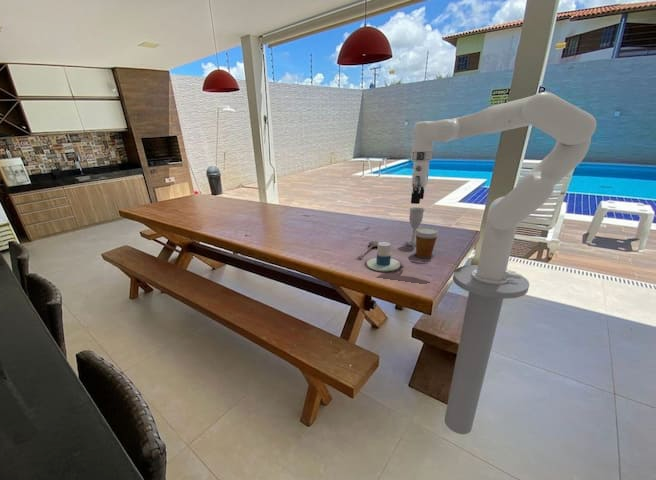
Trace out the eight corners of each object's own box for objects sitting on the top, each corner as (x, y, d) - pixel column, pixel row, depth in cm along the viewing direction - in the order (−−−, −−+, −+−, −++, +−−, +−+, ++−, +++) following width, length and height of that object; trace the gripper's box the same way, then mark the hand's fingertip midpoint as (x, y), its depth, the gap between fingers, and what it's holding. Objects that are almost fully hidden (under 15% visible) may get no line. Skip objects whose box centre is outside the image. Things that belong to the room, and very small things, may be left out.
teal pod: (391, 261, 133) (392, 252, 131) (388, 266, 129) (389, 256, 127) (378, 259, 136) (378, 250, 134) (374, 264, 131) (375, 255, 129)
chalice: (403, 242, 156) (407, 207, 149) (417, 241, 156) (421, 207, 148) (407, 247, 150) (412, 211, 142) (421, 247, 150) (426, 211, 142)
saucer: (403, 261, 135) (403, 259, 134) (396, 273, 124) (396, 271, 123) (371, 257, 141) (371, 255, 141) (362, 268, 130) (362, 266, 130)
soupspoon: (384, 246, 154) (371, 244, 157) (384, 240, 152) (372, 238, 156) (365, 260, 137) (352, 258, 141) (366, 253, 136) (352, 251, 140)
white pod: (391, 252, 131) (391, 242, 130) (388, 256, 127) (388, 246, 125) (379, 250, 134) (379, 241, 132) (375, 254, 130) (376, 245, 128)
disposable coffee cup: (426, 261, 134) (430, 235, 128) (408, 254, 141) (411, 230, 136) (439, 256, 138) (443, 230, 133) (421, 249, 145) (424, 225, 140)
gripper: (429, 158, 109) (423, 206, 116) (435, 154, 123) (429, 197, 130) (407, 158, 113) (403, 205, 119) (415, 155, 126) (411, 196, 133)
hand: (417, 201), depth 125 cm, fingers open, 9 cm apart
